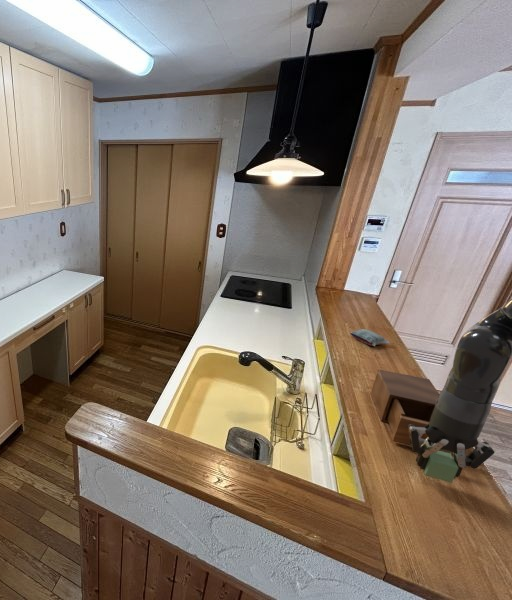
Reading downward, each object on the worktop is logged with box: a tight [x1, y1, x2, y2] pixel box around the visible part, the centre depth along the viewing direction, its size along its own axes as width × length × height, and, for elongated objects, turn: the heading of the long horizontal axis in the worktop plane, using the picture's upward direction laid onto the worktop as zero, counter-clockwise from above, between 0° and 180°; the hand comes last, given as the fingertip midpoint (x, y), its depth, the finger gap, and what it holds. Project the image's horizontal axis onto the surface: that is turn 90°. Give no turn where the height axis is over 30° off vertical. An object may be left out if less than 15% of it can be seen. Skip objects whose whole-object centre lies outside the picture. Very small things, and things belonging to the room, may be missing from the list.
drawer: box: [386, 397, 452, 454], centre depth 87 cm, size 18×11×8 cm, turn 153°
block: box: [422, 451, 458, 484], centre depth 74 cm, size 4×4×4 cm
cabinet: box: [370, 369, 440, 424], centre depth 98 cm, size 15×13×10 cm
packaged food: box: [349, 328, 391, 347], centre depth 141 cm, size 9×12×5 cm
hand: (435, 470), depth 75 cm, fingers closed on block, 4 cm apart
